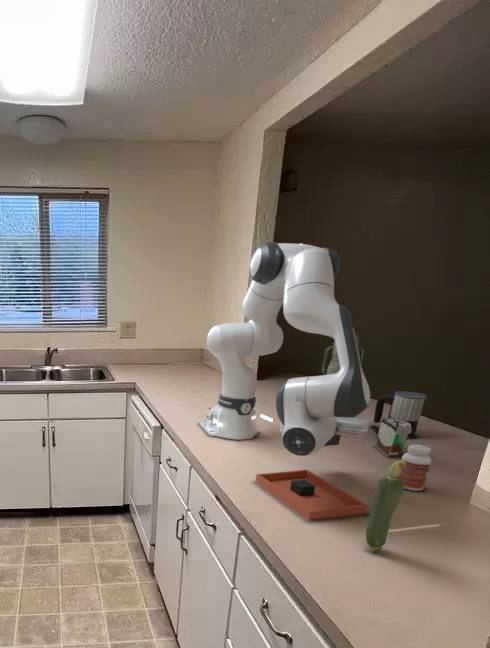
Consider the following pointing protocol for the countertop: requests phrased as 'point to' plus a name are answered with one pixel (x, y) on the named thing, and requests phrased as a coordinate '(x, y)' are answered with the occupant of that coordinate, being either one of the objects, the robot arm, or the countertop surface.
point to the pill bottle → (415, 467)
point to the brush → (333, 440)
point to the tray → (315, 506)
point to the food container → (392, 436)
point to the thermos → (336, 359)
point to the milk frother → (401, 409)
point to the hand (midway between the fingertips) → (329, 414)
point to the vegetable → (384, 506)
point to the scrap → (302, 487)
